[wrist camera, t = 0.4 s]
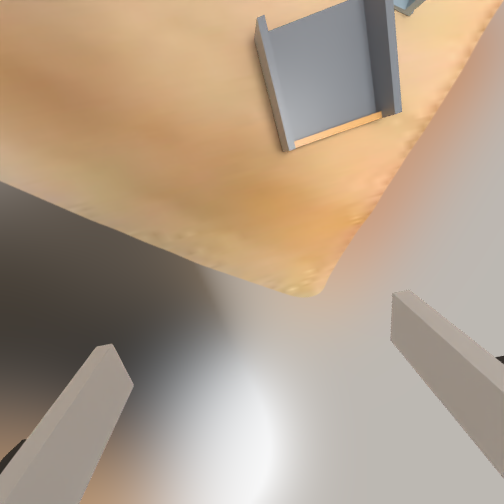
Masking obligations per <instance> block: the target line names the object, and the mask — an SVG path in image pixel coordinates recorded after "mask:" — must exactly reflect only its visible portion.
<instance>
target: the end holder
mask: <svg viewBox="0 0 504 504" xmlns="http://www.w3.org/2000/svg"><path fill="white" fill-rule="evenodd" d="M254 40H255V44H256V48H257V52H258V56H259V60H260V64H261V68H262V72H263V76H264V80H265V84H266V88H267V91H268V95H269V99H270V103H271V107H272V111H273V115H274V119H275V123H276V127H277V131H278V135H279V139H280V143H281V146H282V150H283V152H285V151H290V150H293V149H296V148H297V147H300V146H303V145H305V144H308V143H311V142H314V141H317V140H320V139H323V138H326V137H328V136H331V135H334V134H337V133H340V132H343V131H346V130H349V129H351V128H354V127H357V126H360V125H363V124H366V123H369V122H372V121H375V120H377V119H380V118H383V117H387V116H390V115H394V114H397V113H400V112H402V105H401V92H400V80H399V67H398V54H397V41H396V28H395V16H394V3H393V0H348V1H345V2H343V3H340V4H338V5H335V6H332V7H330V8H327V9H325V10H322V11H319V12H317V13H314V14H312V15H309V16H307V17H304V18H301V19H299V20H296V21H294V22H291V23H289V24H286V25H283V26H281V27H278V28H276V29H273V30H271V31H268V28H267V24H266V20H265V16H264V15H263V16H260V17H258V18H257V21H256V29H255V38H254Z"/></svg>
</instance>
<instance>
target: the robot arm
mask: <svg viewBox="0 0 504 504" xmlns="http://www.w3.org/2000/svg"><path fill="white" fill-rule="evenodd" d="M391 341H392V342H393V344H394V345H395V346H396V347H397V349H398V350H399V351H400V352H401V353H402V355H403V356H404V357H405V358H406V360H407V361H408V362H409V363H410V364H411V366H412V367H413V368H414V369H415V370H416V372H417V373H418V374H419V375H420V377H421V378H422V379H423V380H424V382H425V383H426V384H427V385H428V386H429V388H430V389H431V390H432V391H433V393H434V394H435V395H436V396H437V397H438V399H439V400H440V401H441V402H442V403H443V405H444V406H445V407H446V408H447V410H448V411H449V412H450V413H451V415H452V416H453V417H454V418H455V419H456V421H457V422H458V423H459V424H460V426H461V427H462V428H463V429H464V430H465V432H466V433H467V434H468V435H469V436H470V438H471V439H472V440H473V441H474V443H475V444H476V445H477V446H478V448H479V449H480V450H481V451H482V452H483V454H484V455H485V456H486V457H487V459H488V460H489V461H490V462H491V463H492V465H493V466H494V467H495V468H496V469H497V471H498V472H499V473H500V474H501V476H502V477H503V478H504V356H500V357H494V356H492V355H491V354H490V353H489V352H487V351H486V350H485V349H484V348H482V347H481V346H480V345H478V344H477V343H476V342H475V341H473V340H472V339H470V337H468V336H467V335H466V334H465V333H463V332H462V331H461V330H460V329H458V328H457V327H456V326H454V325H453V324H452V323H451V322H449V321H448V320H447V319H445V318H444V317H443V316H442V315H441V314H439V313H438V312H437V311H435V310H434V309H433V308H432V307H430V306H429V305H428V304H427V303H425V302H424V301H423V300H422V299H420V298H419V297H418V296H416V295H415V294H414V293H413V292H411V291H410V290H406V291H401V292H395V293H393V294H392V317H391ZM133 386H134V385H133V383H132V381H131V379H130V377H129V375H128V373H127V371H126V369H125V367H124V365H123V363H122V361H121V360H120V358H119V356H118V354H117V352H116V350H115V348H114V346H113V344H109V345H103V346H98V347H96V348H95V349H94V351H93V352H92V353H91V355H90V356H89V358H88V359H87V360H86V361H85V363H84V364H83V365H82V367H81V368H80V369H79V371H78V372H77V373H76V375H75V376H74V377H73V379H72V380H71V381H70V383H69V384H68V385H67V387H66V388H65V389H64V391H63V392H62V393H61V395H60V396H59V397H58V399H57V400H56V401H55V403H54V404H53V405H52V406H51V408H50V409H49V411H48V412H47V413H46V414H45V416H44V417H43V418H42V420H41V421H40V423H39V424H38V425H37V426H36V428H35V429H34V430H33V432H32V433H31V434H30V436H29V437H28V438H27V439H24V440H22V441H21V442H20V443H19V444H18V445H17V446H16V447H14V448H13V449H12V450H11V451H10V452H9V453H8V454H7V455H6V456H5V457H4V458H3V459H2V460H1V462H0V504H79V503H80V500H81V498H82V496H83V494H84V492H85V489H86V488H87V485H88V483H89V481H90V479H91V477H92V475H93V472H94V470H95V468H96V466H97V464H98V462H99V460H100V457H101V455H102V453H103V451H104V448H105V447H106V444H107V442H108V440H109V438H110V436H111V434H112V432H113V429H114V427H115V425H116V423H117V421H118V419H119V416H120V414H121V412H122V410H123V408H124V406H125V403H126V401H127V399H128V397H129V395H130V393H131V390H132V388H133Z"/></svg>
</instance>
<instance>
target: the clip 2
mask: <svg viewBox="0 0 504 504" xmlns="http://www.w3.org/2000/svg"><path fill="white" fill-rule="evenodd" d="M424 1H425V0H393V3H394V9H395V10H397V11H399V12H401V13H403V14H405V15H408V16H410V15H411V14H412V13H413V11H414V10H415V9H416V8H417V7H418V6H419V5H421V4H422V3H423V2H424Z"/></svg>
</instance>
